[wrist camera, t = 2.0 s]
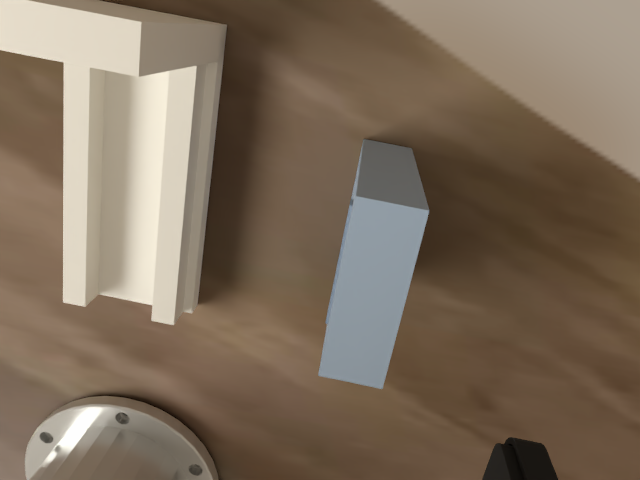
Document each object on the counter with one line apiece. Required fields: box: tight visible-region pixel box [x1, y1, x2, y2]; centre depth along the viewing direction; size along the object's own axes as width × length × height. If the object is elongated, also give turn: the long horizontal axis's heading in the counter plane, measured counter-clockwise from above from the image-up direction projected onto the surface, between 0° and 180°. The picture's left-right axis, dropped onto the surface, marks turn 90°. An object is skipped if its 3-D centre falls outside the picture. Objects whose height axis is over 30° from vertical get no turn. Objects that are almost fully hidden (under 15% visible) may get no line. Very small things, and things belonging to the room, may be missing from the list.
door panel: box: [318, 139, 429, 389], centre depth 24 cm, size 7×3×10 cm, turn 170°
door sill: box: [0, 0, 227, 325], centre depth 24 cm, size 15×7×10 cm, turn 170°
